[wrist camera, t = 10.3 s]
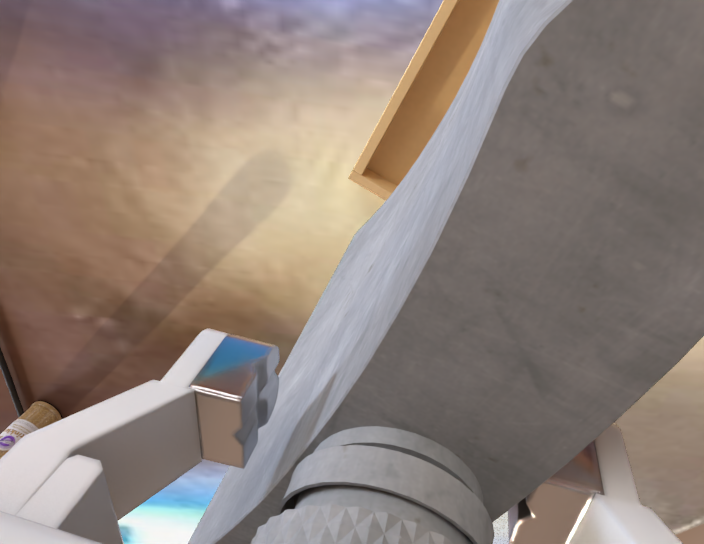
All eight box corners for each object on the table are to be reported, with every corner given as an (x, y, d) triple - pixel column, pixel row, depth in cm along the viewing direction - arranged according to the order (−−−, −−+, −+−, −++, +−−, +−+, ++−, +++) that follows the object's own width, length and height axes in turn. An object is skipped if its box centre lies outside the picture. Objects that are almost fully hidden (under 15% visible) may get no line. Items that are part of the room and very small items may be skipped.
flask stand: (447, 221, 41) (444, 235, 39) (355, 168, 41) (347, 178, 39) (631, -37, 30) (640, -37, 28) (507, -115, 30) (507, -120, 28)
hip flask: (533, -60, 18) (849, -294, 2) (626, 0, 19) (1709, 311, 2) (340, 257, 27) (88, 719, 11) (405, 295, 27) (259, 807, 11)
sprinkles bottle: (58, 403, 68) (-29, 489, 57) (66, 427, 71) (-15, 513, 60) (29, 396, 69) (-62, 479, 58) (38, 419, 72) (-48, 504, 60)
